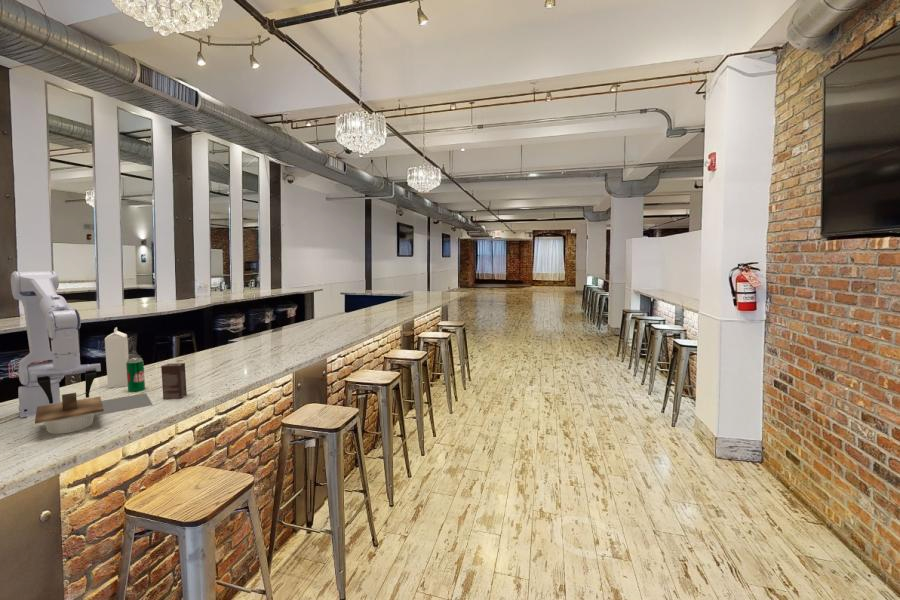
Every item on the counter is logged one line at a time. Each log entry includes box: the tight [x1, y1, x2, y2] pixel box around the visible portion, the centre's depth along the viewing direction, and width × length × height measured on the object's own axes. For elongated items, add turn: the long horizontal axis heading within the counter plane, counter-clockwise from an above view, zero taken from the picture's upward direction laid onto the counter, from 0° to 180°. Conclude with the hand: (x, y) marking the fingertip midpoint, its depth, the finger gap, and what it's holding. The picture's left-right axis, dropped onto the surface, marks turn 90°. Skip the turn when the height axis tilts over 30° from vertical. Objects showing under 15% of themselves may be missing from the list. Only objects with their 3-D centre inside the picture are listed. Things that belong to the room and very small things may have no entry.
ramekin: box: [44, 413, 95, 435], centre depth 122 cm, size 11×11×5 cm
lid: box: [34, 392, 104, 425], centre depth 122 cm, size 14×14×4 cm
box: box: [160, 362, 188, 400], centre depth 148 cm, size 6×4×12 cm
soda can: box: [126, 357, 146, 393], centre depth 155 cm, size 5×5×12 cm
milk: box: [104, 326, 130, 389], centre depth 162 cm, size 6×6×22 cm
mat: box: [94, 393, 154, 417], centre depth 141 cm, size 16×16×1 cm
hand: (69, 399), depth 122 cm, fingers open, 7 cm apart
